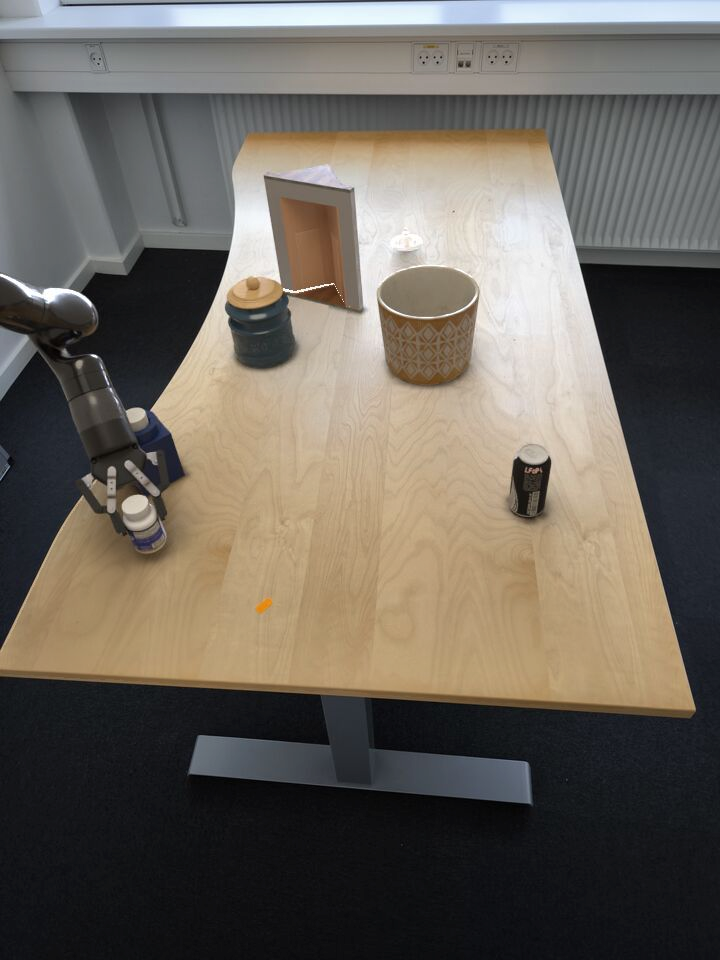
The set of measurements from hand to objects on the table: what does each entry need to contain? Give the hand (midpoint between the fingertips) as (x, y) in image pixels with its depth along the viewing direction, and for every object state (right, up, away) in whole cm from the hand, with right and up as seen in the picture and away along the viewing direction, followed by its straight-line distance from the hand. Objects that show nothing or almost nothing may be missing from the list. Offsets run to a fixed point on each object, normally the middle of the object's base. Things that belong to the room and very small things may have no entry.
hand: (144, 527), depth 111 cm
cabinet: (+26, +51, +60) cm, 83 cm away
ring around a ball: (+44, +65, +72) cm, 107 cm away
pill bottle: (0, -3, +5) cm, 6 cm away
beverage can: (+60, +3, +8) cm, 60 cm away
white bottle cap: (-5, +17, +12) cm, 21 cm away
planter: (+47, +31, +38) cm, 68 cm away
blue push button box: (-4, +8, +20) cm, 22 cm away
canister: (+13, +34, +45) cm, 58 cm away
